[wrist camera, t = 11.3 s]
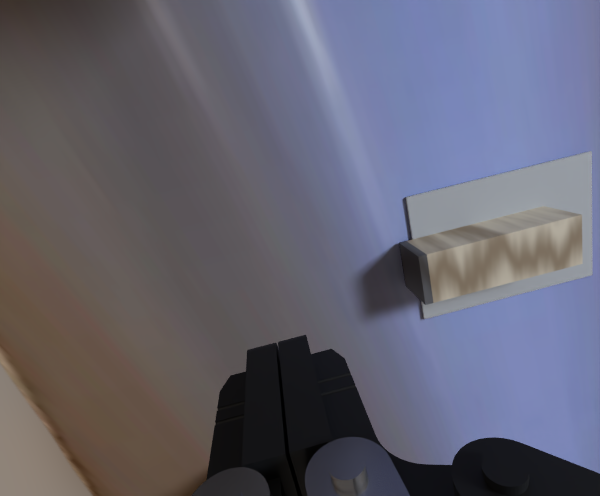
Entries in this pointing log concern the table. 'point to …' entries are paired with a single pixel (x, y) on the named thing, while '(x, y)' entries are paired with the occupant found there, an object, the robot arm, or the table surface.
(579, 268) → the grey mat
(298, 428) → the robot arm
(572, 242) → the birch block
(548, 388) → the table surface
